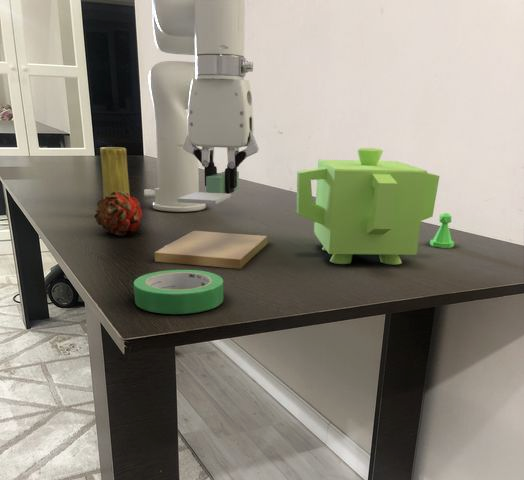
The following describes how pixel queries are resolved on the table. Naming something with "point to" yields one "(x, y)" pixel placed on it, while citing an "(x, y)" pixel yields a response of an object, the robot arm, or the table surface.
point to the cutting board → (212, 249)
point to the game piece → (443, 233)
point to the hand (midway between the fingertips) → (220, 191)
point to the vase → (114, 170)
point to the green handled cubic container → (367, 206)
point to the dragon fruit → (119, 213)
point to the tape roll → (178, 291)
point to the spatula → (210, 191)
